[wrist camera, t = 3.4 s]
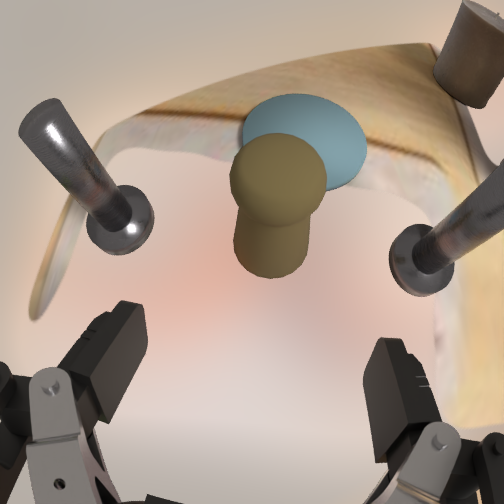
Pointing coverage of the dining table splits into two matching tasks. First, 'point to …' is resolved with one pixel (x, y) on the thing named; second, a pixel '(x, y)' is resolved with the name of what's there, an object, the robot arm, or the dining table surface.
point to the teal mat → (313, 131)
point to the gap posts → (142, 215)
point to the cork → (275, 202)
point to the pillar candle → (472, 55)
